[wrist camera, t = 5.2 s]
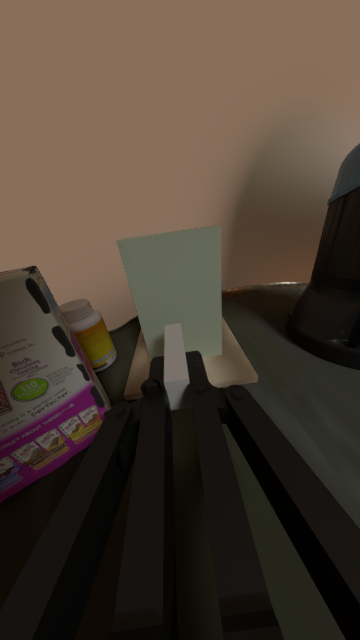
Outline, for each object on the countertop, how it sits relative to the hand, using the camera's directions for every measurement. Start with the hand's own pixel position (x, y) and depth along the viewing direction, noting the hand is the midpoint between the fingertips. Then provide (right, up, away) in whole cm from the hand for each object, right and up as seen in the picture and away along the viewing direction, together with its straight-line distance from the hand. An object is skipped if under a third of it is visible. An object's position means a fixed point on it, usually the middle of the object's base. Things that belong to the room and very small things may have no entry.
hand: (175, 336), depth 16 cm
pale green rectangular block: (+1, -3, +9) cm, 10 cm away
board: (+1, -3, +12) cm, 12 cm away
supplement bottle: (-12, -5, +11) cm, 18 cm away
